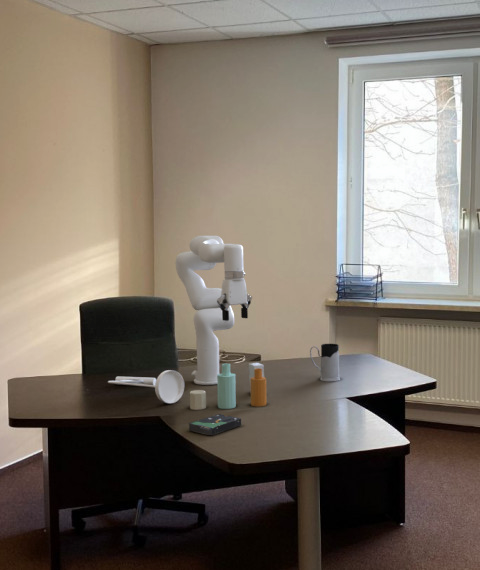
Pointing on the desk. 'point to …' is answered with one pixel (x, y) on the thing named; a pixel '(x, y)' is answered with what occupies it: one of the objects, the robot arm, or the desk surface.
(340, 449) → the desk surface
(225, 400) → the bottle
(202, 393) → the cream short cylinder
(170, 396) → the desk lamp
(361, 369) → the desk surface
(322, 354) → the glass holder
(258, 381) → the amber bottle
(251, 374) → the cosmetic box
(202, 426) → the disk drive
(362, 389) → the desk surface
